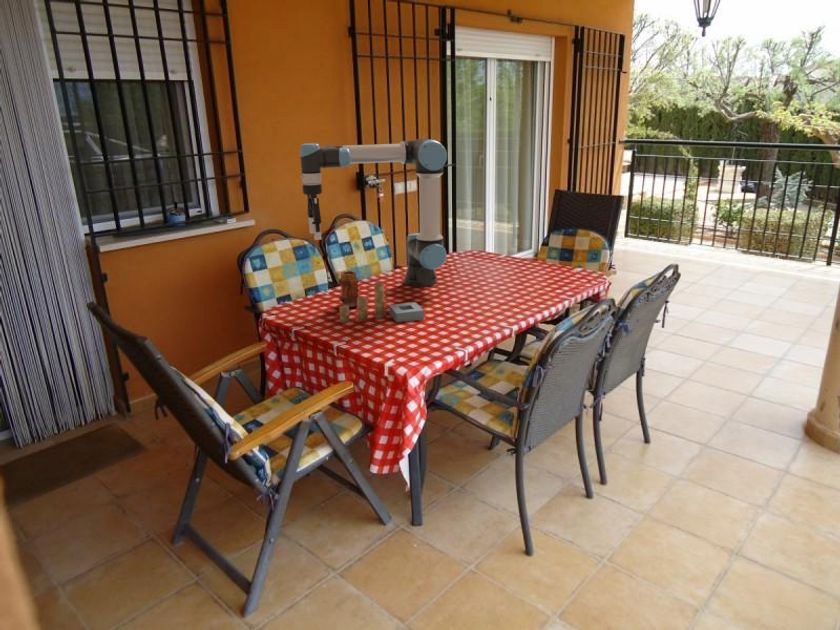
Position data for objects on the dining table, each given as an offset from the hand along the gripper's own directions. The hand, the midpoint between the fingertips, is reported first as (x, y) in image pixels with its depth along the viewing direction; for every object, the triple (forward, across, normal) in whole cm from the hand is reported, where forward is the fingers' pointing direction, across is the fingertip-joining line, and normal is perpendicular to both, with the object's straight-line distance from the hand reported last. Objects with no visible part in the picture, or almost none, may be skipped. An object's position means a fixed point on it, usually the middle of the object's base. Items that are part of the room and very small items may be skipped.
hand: (315, 236), depth 256 cm
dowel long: (+28, +29, +19) cm, 44 cm away
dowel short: (+28, +29, +5) cm, 40 cm away
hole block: (+28, +31, +29) cm, 51 cm away
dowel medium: (+28, +29, +12) cm, 42 cm away
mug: (+28, +13, +11) cm, 33 cm away
